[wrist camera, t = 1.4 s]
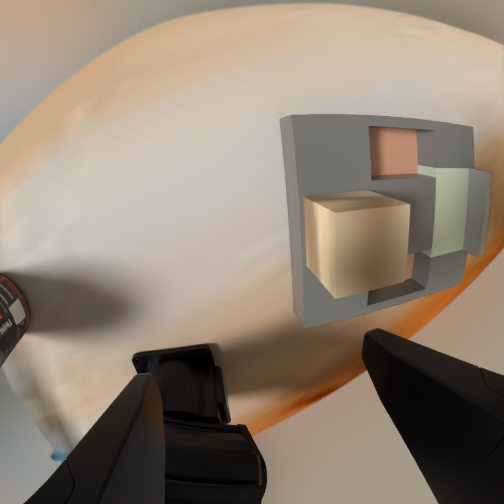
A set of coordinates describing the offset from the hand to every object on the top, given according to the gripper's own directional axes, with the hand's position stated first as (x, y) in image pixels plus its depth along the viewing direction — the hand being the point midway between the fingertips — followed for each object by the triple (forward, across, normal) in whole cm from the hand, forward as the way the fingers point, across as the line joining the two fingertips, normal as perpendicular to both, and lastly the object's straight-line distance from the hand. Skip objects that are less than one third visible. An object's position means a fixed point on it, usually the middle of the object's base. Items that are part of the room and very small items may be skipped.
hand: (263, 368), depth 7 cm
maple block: (+10, -7, 0) cm, 13 cm away
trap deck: (+13, -12, 0) cm, 18 cm away
